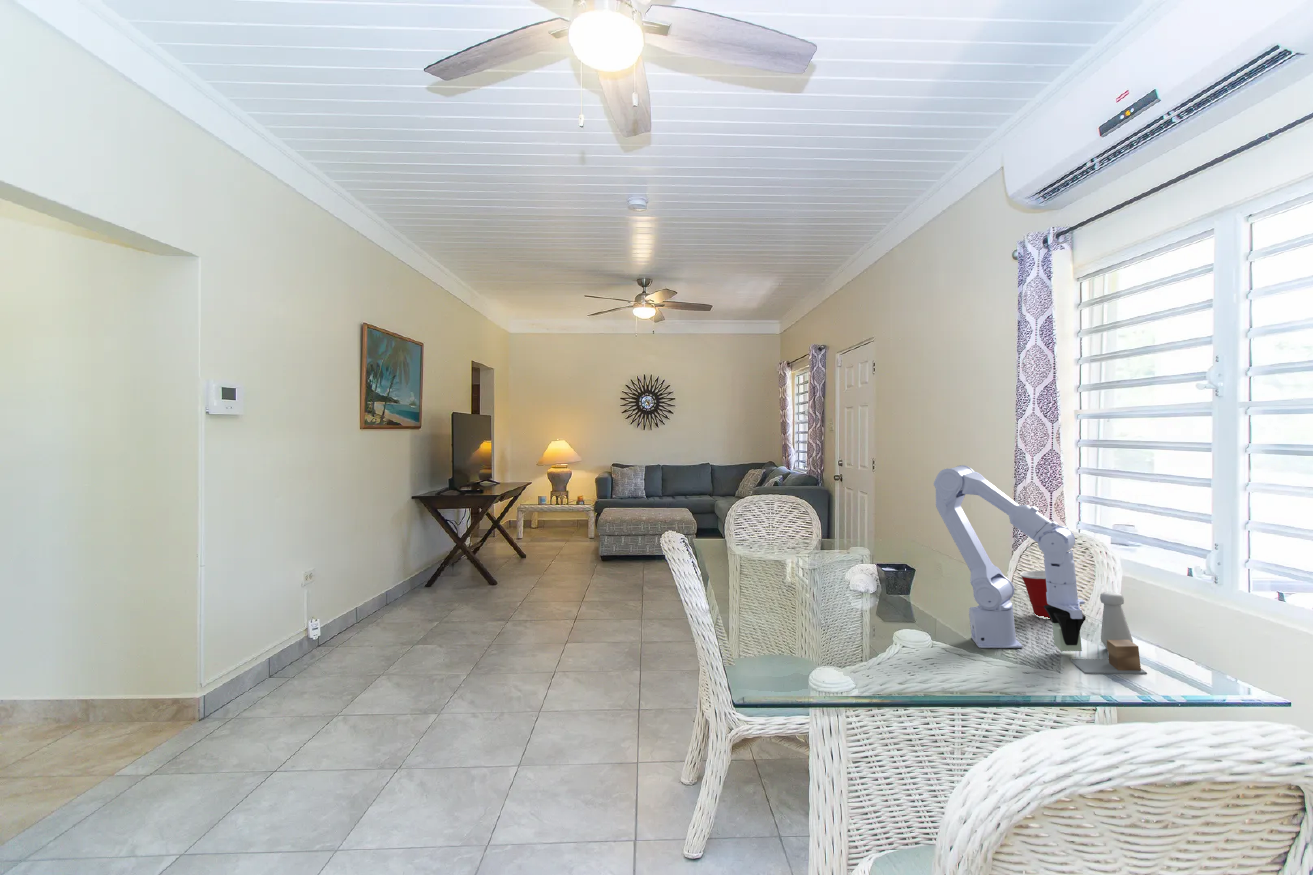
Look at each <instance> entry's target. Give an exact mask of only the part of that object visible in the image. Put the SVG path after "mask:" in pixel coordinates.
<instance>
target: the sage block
mask: <svg viewBox="0 0 1313 875" xmlns="http://www.w3.org/2000/svg"><path fill="white" fill-rule="evenodd" d="M1051 624H1052V626H1051V627H1052V633H1053V643H1054V644H1053V645H1054V646H1055V647H1056V648H1057V649H1058V650H1060V651H1061V652H1082V651H1083V650H1082V649H1083V648H1082V639H1081V632H1080V633H1079V638H1078V643H1077V645H1066V644H1065V642H1064V639H1063V635H1062V631H1061V628H1060V625H1059V623H1051Z"/></svg>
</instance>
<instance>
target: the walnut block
mask: <svg viewBox="0 0 1313 875" xmlns="http://www.w3.org/2000/svg"><path fill="white" fill-rule="evenodd" d="M1107 648H1108V650H1107V655H1108V659H1109V663H1110V664H1111V665H1112V666H1113V667H1115V668H1116V669H1117V670H1134V671H1141V669H1142V667H1141V666H1142V665H1141V657H1140V650H1139V649H1140V648H1139V645H1137V644H1135V643H1134V641H1133V642H1131V641H1130V640H1107Z"/></svg>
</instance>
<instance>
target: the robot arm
mask: <svg viewBox="0 0 1313 875" xmlns="http://www.w3.org/2000/svg"><path fill="white" fill-rule="evenodd" d="M933 486H934V488H935V508H936V509H937V512H938V513H939V515H940V517H941V519H942V521H943V522H944V524H945V526H946V528H947V530H948V532H949V534H950V536H951V538H952V539H953V542H954V543H955V546H956V547H957V549H958V551H959V552H960V555H961V556H962V558H963V560H964V562H965V563H966V564H965V565H967V568H968V569H969V571H970V577H969V578H970V581H969V583H970V585H971V587H972V589H973V598H974V600H975V602H976V604H978V605H977V606H970V607H969V608H968V617H969V624H970V634H971V636H970V638H971V639H972V641H973V642H974V643H975V644H976V646H977V647H978V648H979V649H1012V648H1013V649H1018V648H1019V649H1020V648H1021V649H1022V648H1024V646H1023V644H1022V643H1020V642H1019V640H1018V639H1017V635H1016V626H1015V625H1016V624H1015V616H1014V607H1013V603H1012V602H1011V599H1012V597H1013V596H1014V595H1015V586H1014V584H1013V582H1012V581H1011V580H1010V579H1009V578H1008V577H1006V576H1005V575H1004V573H1003V572H1002V570H1001V569H1000V568H999V567H998V566H997V565H995V564H993V562H992V560H991V559H990V557H989V555H988V553H987V552H986V549H985V548H984V546H983V544H982V542H981V540H980V539H979V536H978V534H977V533H976V531H975V529H974V528H973V526H972V524H971V522H970V521H969V518H968V516H967V515H966V513H965V512H964V509H963V507H962V503H963V501H964V498H965V496H966V495H970V496H972V495H973V496H979V497H980V498H982V499H983V500H985V501H986V502H988V503H989V504H991V505H992V506H994V507H995V508H997V509H999V510H1000V511H1001V512H1003V513H1005V514H1006V515H1008V518H1009V523H1010V524H1011V525H1012V526H1014V527H1015V528H1016V529H1018V530H1019V531H1020V532H1021V533H1023V534H1025V535H1026V536H1027V537H1028V538H1030V539H1031V540H1033V541H1034V542H1037V546H1038V547H1039V550H1040V551H1041V553H1043V564H1044V571H1045V576H1046V586H1047V592H1046V597H1047V603H1048V604H1049V605H1044V608H1045V610H1046V611H1047V613H1048V615H1049V616H1050V619H1051V620H1050V621H1051V622H1052V623H1059V625H1060V628H1061V631H1062V635H1063V639H1064V642H1065V644H1066V645H1077V643H1078V638H1079V633H1080V634H1081V629H1082V626H1083V624H1084V622H1085V621H1086V619H1087V618H1086V617H1087V616H1086V615H1085V614H1083V610H1082V608H1081V605H1085V604H1086V602H1085V600H1084V599H1081V598H1079V595H1078V586H1077V585H1078V584H1077V575H1076V566H1075V565H1076V564H1075V560H1074V552H1073V547H1074V546H1075V544H1076V537H1075V535H1074V534H1073V532H1072V531H1071V530H1070V529H1069V528H1068V527H1066V526H1064V525H1059V524H1058V522H1056V521H1054V520H1053V521H1052V520H1050V519H1048V518H1047V517H1046V516H1044V515H1043V514H1042V513H1040V512H1039V510H1040V509H1039V508H1038V507H1036V506H1033V505H1032V506H1030V505H1029V504H1018V503H1017V502H1016V501H1015V500H1013V498H1011V497H1010V496H1008V495H1007V494H1005V493H1004V492H1003V491H1001V490H1000V489H999V488H997V486H995V485H994V484H993V483H991V482H990V481H989V480H988V479H987V478H985V477H984V476H983V475H982V474H981V473H980V472H977V471H975V470H974V469H973V468H971V467H970V466H968V465H965V464H962V465H957V466H955V467H950V468H944V469H942V470H940V471H939V472H938V473H937V475H936V477H935V480H934V481H933ZM1052 623H1051V624H1052Z"/></svg>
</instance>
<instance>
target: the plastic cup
mask: <svg viewBox="0 0 1313 875" xmlns="http://www.w3.org/2000/svg"><path fill="white" fill-rule="evenodd" d="M1019 576H1020V577H1021V578H1022V581H1023V583H1024V585H1025V589H1026V591H1027V592H1026V593H1027V596H1028V598H1029V601H1030V604H1031V606H1032V607H1031V608H1032V611H1033V613H1035V614H1036V615H1038V616H1044V617H1048V618H1050V616H1049V615H1048V613H1047V611H1046V610H1045V608H1044V605H1049V604H1048V603H1047V597H1046V592H1047V586H1046V576H1045V570H1030V571H1029V570H1028V571H1023V572H1020V573H1019ZM1035 614H1034V615H1035Z"/></svg>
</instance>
